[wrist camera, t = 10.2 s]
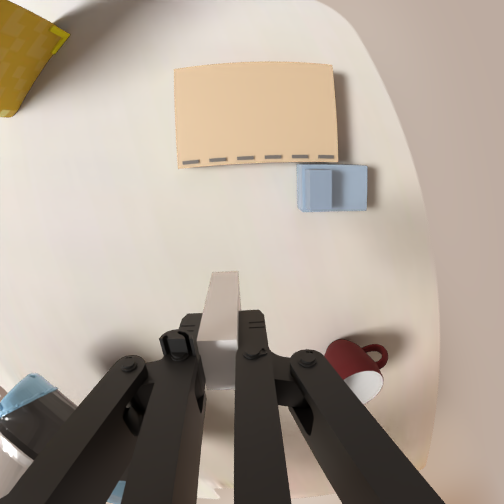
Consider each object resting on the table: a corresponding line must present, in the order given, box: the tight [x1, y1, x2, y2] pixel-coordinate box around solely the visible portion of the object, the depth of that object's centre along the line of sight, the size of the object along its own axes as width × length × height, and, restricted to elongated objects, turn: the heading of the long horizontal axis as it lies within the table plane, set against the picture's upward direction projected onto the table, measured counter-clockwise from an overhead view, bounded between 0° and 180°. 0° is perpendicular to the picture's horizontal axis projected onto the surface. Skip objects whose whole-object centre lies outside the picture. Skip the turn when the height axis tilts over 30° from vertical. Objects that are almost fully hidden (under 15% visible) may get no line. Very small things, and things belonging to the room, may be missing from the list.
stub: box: [297, 164, 367, 212], centre depth 31 cm, size 8×5×5 cm
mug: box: [324, 339, 388, 405], centre depth 37 cm, size 10×8×10 cm
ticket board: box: [174, 62, 338, 169], centre depth 29 cm, size 18×12×3 cm, turn 93°
